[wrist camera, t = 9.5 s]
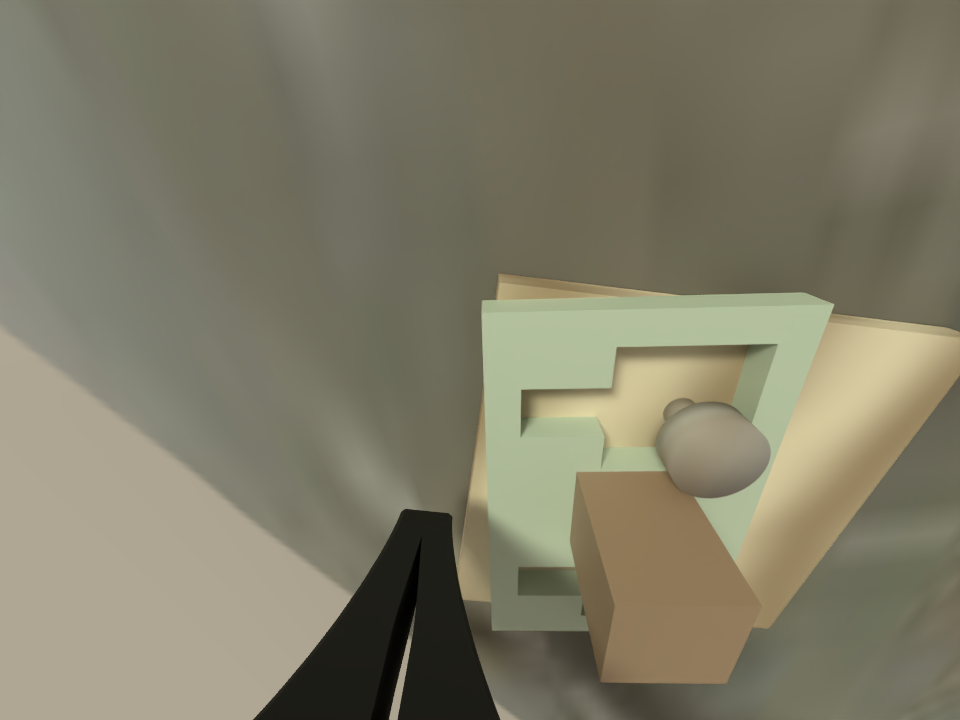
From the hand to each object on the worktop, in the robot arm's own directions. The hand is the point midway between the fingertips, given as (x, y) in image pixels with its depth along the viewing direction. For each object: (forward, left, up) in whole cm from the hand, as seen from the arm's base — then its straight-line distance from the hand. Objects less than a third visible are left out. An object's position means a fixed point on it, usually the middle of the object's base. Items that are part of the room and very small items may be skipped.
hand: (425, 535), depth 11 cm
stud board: (-8, 0, -3) cm, 9 cm away
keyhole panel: (-6, 0, -2) cm, 6 cm away
